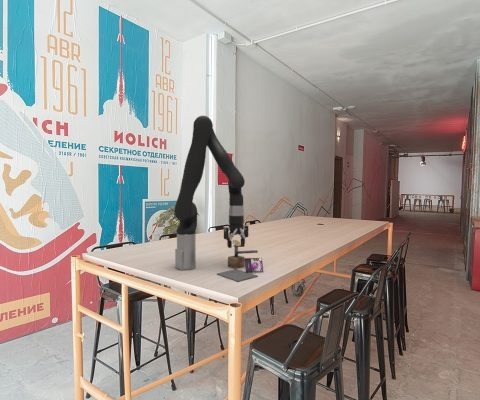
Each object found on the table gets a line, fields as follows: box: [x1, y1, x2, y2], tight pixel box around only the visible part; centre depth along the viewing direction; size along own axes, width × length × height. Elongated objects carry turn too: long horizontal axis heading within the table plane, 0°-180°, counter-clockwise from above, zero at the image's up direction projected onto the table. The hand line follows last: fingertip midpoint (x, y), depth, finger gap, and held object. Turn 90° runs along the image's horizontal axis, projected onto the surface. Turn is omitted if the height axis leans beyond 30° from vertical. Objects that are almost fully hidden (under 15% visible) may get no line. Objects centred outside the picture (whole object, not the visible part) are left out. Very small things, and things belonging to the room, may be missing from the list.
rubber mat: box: [216, 268, 258, 283], centre depth 147 cm, size 12×15×1 cm
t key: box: [232, 239, 259, 257], centre depth 164 cm, size 8×12×8 cm, turn 103°
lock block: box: [227, 255, 246, 270], centre depth 163 cm, size 6×6×5 cm
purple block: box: [244, 257, 264, 274], centre depth 154 cm, size 7×5×9 cm
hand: (236, 246), depth 163 cm, fingers open, 7 cm apart
